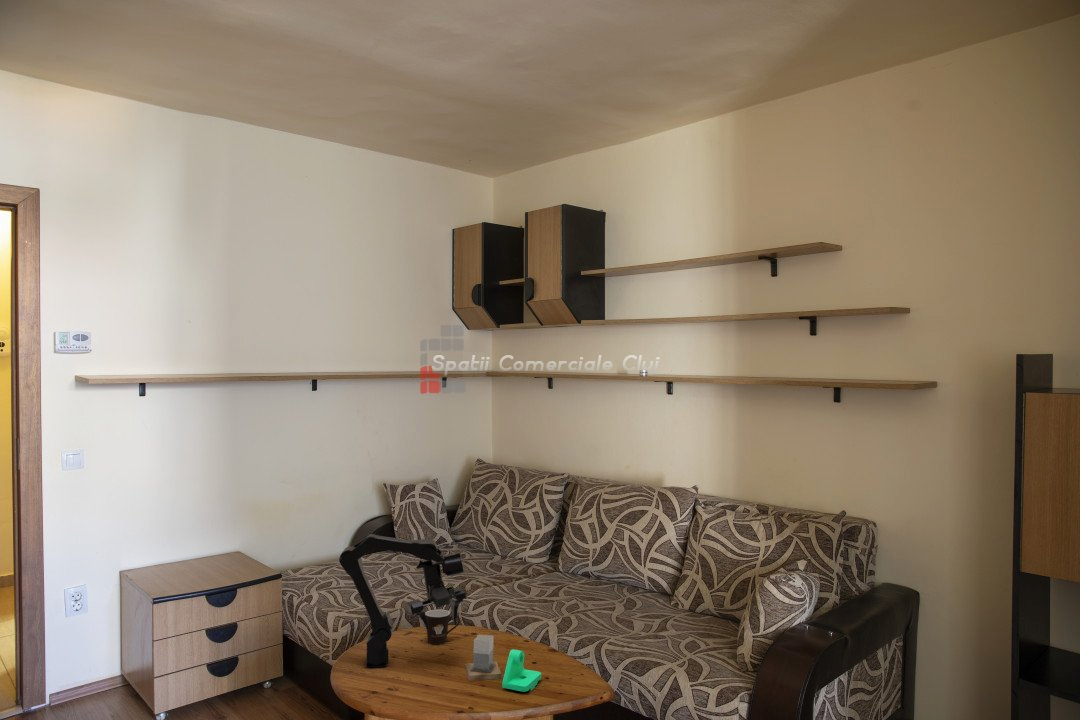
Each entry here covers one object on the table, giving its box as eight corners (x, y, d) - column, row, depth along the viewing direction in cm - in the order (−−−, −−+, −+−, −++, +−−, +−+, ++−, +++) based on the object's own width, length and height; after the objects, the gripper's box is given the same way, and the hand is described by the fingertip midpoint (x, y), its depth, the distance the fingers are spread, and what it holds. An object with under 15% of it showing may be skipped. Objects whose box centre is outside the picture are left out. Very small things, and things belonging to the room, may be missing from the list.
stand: (469, 680, 224) (469, 675, 224) (465, 668, 234) (465, 663, 234) (501, 678, 226) (501, 673, 226) (496, 666, 236) (496, 661, 236)
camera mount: (525, 696, 214) (526, 660, 214) (502, 691, 217) (503, 656, 217) (542, 681, 225) (542, 647, 225) (519, 676, 228) (520, 643, 228)
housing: (470, 671, 227) (470, 640, 228) (475, 663, 234) (476, 633, 234) (490, 673, 226) (491, 642, 226) (495, 665, 232) (496, 635, 233)
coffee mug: (421, 645, 254) (421, 616, 254) (429, 636, 262) (429, 608, 262) (453, 647, 252) (454, 618, 252) (460, 639, 260) (460, 610, 260)
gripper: (412, 591, 227) (420, 641, 227) (468, 575, 235) (476, 623, 235) (403, 585, 237) (411, 632, 237) (457, 569, 246) (464, 615, 245)
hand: (441, 626), depth 238 cm, fingers open, 9 cm apart
